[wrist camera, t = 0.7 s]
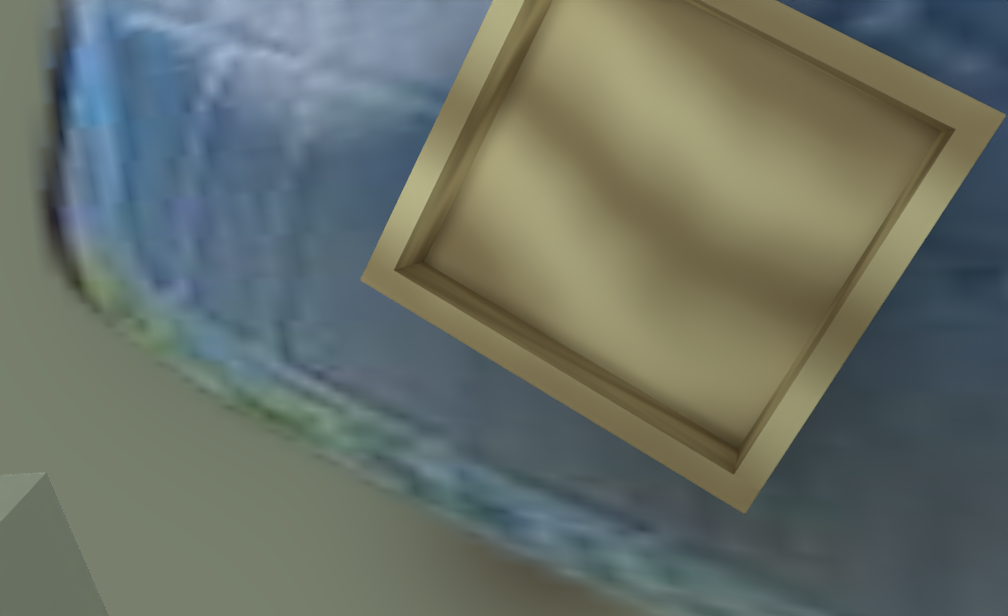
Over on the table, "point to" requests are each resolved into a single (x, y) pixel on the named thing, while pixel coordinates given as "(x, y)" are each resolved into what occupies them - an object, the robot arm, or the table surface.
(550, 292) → the holder
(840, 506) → the table surface
